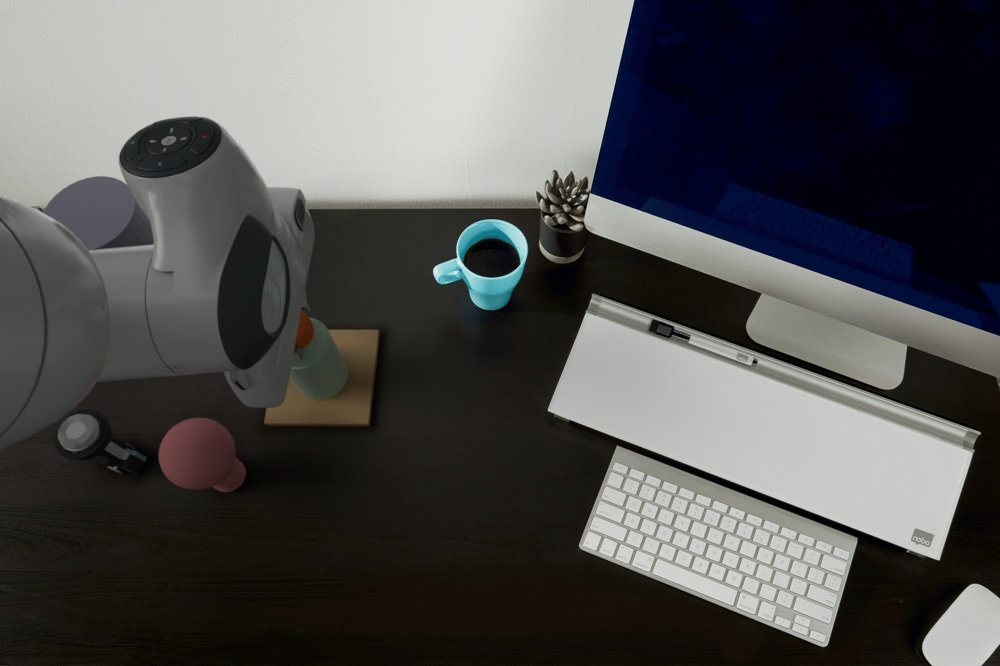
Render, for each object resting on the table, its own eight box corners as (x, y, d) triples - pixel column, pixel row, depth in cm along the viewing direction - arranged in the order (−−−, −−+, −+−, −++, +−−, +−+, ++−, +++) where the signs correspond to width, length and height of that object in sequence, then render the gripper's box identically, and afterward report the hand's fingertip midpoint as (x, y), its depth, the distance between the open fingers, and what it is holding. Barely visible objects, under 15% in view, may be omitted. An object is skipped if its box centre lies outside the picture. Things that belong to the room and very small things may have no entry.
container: (187, 316, 90) (126, 248, 77) (105, 323, 90) (30, 257, 77) (198, 247, 95) (141, 172, 82) (120, 254, 95) (51, 180, 82)
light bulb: (190, 464, 81) (137, 427, 71) (250, 435, 82) (207, 395, 72) (208, 521, 78) (155, 491, 68) (270, 490, 79) (228, 456, 69)
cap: (279, 317, 76) (273, 306, 74) (317, 317, 76) (311, 307, 74) (272, 351, 74) (266, 341, 73) (311, 351, 74) (305, 342, 72)
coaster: (369, 426, 82) (368, 424, 81) (266, 426, 83) (263, 423, 82) (380, 332, 88) (378, 329, 87) (282, 332, 88) (280, 329, 88)
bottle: (345, 400, 83) (316, 354, 72) (291, 400, 83) (255, 354, 73) (351, 351, 86) (324, 300, 75) (299, 351, 86) (266, 300, 76)
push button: (83, 474, 81) (27, 445, 72) (107, 430, 84) (55, 397, 75) (135, 488, 80) (84, 461, 71) (158, 444, 83) (111, 412, 74)
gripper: (264, 374, 59) (312, 432, 71) (304, 175, 68) (341, 256, 80) (188, 373, 59) (249, 431, 71) (239, 175, 68) (285, 256, 81)
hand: (298, 337), depth 76 cm, fingers closed on cap, 4 cm apart
